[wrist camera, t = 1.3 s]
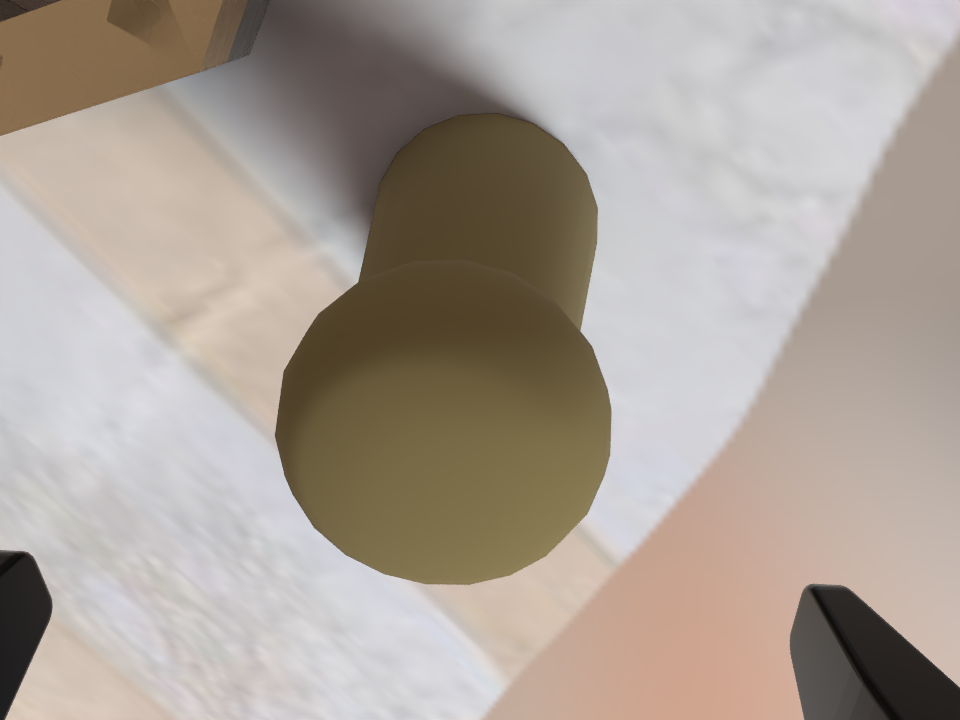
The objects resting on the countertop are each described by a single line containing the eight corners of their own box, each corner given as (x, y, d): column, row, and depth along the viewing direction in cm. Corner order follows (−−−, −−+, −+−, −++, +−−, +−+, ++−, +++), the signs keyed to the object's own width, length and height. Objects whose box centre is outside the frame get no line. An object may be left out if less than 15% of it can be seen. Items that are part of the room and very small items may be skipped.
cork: (371, 316, 21) (230, 620, 12) (376, 99, 18) (191, 268, 9) (578, 340, 21) (609, 668, 11) (618, 127, 18) (704, 329, 8)
